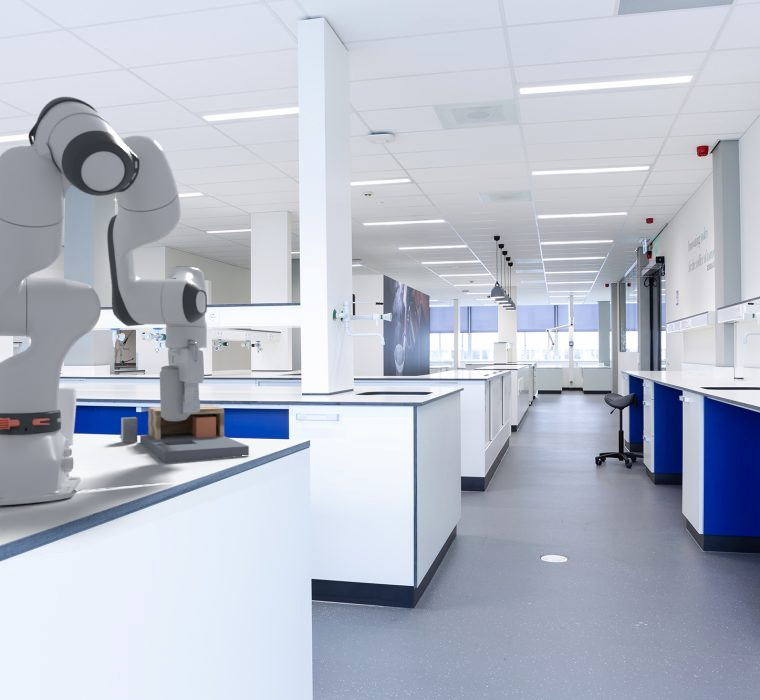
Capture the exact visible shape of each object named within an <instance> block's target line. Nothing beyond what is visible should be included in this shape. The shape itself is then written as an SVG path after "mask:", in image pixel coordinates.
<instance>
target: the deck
mask: <svg viewBox="0 0 760 700" xmlns="http://www.w3.org/2000/svg"><path fill="white" fill-rule="evenodd" d="M139 438H140V441H139V442H141V443H140V444H142V445H143V446H144V448H146V449H147V448H148V449H147V450H149V451H150V452H151V453H152V454H153V455H155V457H157V458H158V459H159V460H161V461H162V463H164V464H169V463H182V462H195V461H205V460H206V459H208V460H214V459H213V458H220V459H224V458H223V457H231V458H234V457H233V456H242V455H249V456H250V450H249V449H250V446H249V445H246V444H244V443H242V442H239V441H237V440H235V439H233V438H230V437H227V436H225V435H224V436H218V435H216V436H213V437H195V436H192V433H181V434H162V435H161V440H156V439H154V438H153V437H151V436H149V435H148V434H141V435H140V437H139ZM206 461H207V460H206Z"/></svg>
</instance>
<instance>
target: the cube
mask: <svg viewBox="0 0 760 700" xmlns="http://www.w3.org/2000/svg"><path fill="white" fill-rule="evenodd" d="M192 436H195V437H213V436H216V417H214V416H211V415H210V416H192Z"/></svg>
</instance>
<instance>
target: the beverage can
mask: <svg viewBox="0 0 760 700" xmlns="http://www.w3.org/2000/svg"><path fill="white" fill-rule="evenodd" d="M160 369H161V371H159V392H160V393H159V394H160V395H159V396H160V397H159V398H160V401H159V402H160V407H161V417H162V418H164V420H167V421H182V420H185V419H187V417H189V416H190V413H181V405H182V381H179V369H176V366H174V365H170V366H169V365H164V366H161V368H160Z"/></svg>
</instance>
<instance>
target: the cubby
mask: <svg viewBox="0 0 760 700" xmlns="http://www.w3.org/2000/svg"><path fill="white" fill-rule="evenodd" d="M147 414H148V416H147V417H148V420H147V428H148V429H147V433H148V434H147V435H149V436H151V437H153V438H154V439H156V440H161V435H162V434H181V433H192V416H210V415H211V416H214V417H216V435H218V436H225V408H223V407H220V406H217V405H213V404H207V405H205V404H204V405H200V411H199V413H190V416H189V417H187V419H185V420H182V421H167V420H164V418H162V417H161V406H154V407H153V406H151V407H149V406H148V408H147Z"/></svg>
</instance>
